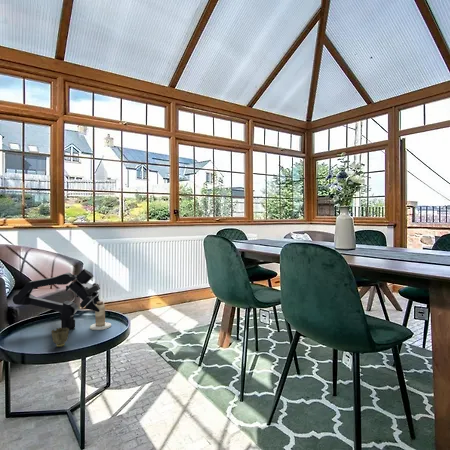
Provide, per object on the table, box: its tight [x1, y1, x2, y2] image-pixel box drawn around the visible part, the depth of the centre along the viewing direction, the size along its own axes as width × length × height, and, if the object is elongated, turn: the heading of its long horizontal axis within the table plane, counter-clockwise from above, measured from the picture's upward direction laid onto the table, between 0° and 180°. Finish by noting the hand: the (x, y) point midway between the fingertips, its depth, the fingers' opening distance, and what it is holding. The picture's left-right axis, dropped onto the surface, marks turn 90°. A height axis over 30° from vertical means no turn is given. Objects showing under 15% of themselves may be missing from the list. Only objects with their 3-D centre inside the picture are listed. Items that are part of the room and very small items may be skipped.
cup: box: [51, 326, 70, 348], centre depth 156 cm, size 8×7×8 cm
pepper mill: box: [94, 300, 106, 327], centre depth 185 cm, size 5×5×13 cm
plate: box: [89, 321, 112, 331], centre depth 185 cm, size 11×11×1 cm
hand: (101, 309), depth 185 cm, fingers open, 9 cm apart
